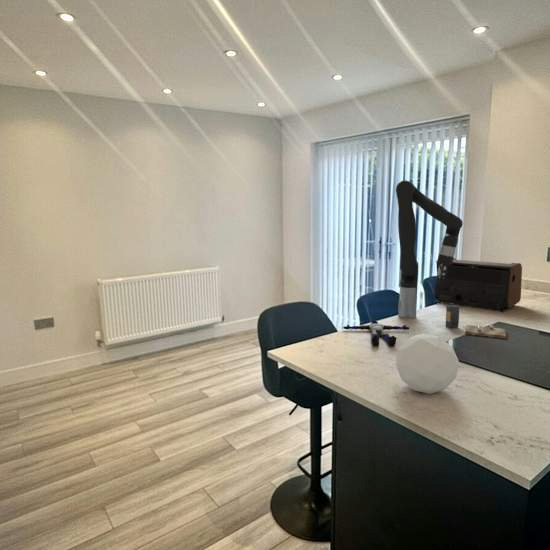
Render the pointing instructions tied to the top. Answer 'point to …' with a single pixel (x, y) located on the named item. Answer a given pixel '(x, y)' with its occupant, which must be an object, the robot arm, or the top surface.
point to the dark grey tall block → (452, 316)
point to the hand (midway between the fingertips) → (438, 284)
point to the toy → (379, 332)
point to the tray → (485, 331)
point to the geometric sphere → (427, 363)
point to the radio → (481, 285)
